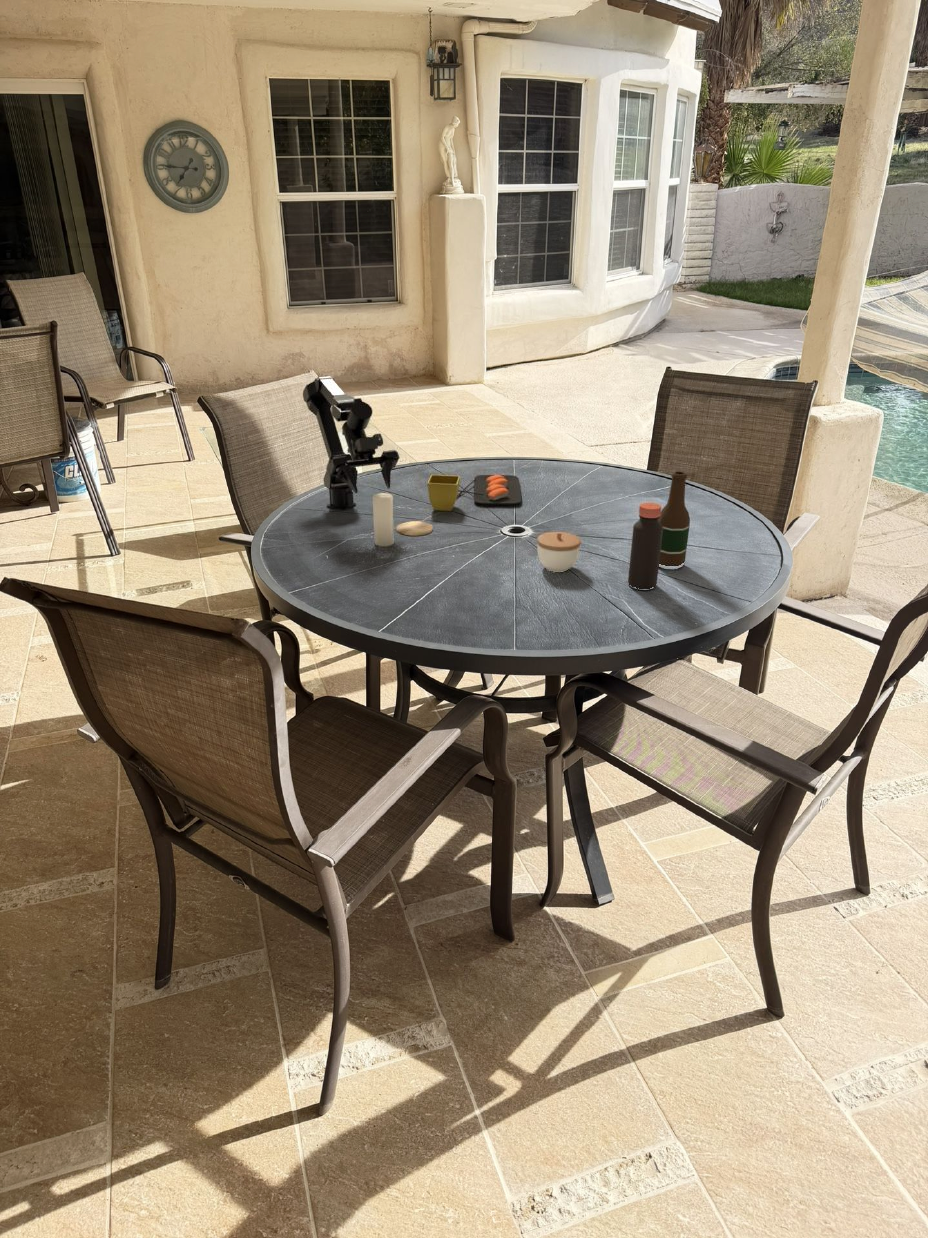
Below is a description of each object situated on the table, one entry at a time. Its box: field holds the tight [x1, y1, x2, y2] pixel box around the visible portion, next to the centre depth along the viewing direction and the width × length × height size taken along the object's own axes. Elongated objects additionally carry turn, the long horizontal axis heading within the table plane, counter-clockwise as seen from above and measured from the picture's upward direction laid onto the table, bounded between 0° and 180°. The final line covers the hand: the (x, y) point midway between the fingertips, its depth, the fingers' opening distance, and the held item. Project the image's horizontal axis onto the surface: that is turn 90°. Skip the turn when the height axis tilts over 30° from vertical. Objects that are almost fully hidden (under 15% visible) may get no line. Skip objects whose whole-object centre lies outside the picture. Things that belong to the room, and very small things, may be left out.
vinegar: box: [627, 502, 663, 589], centre depth 203 cm, size 7×7×20 cm
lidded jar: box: [536, 531, 582, 573], centre depth 215 cm, size 11×11×9 cm
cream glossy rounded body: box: [372, 492, 395, 547], centre depth 229 cm, size 5×5×13 cm
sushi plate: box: [426, 474, 522, 505], centre depth 272 cm, size 29×30×4 cm
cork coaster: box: [396, 520, 434, 537], centre depth 241 cm, size 10×10×1 cm
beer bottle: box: [658, 471, 691, 566], centre depth 214 cm, size 8×8×24 cm
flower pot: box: [427, 474, 461, 512], centre depth 256 cm, size 9×9×9 cm
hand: (373, 490), depth 232 cm, fingers open, 9 cm apart
